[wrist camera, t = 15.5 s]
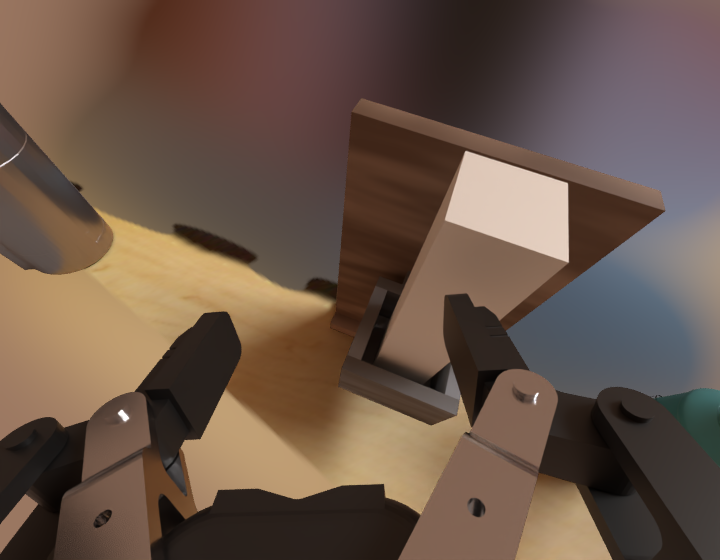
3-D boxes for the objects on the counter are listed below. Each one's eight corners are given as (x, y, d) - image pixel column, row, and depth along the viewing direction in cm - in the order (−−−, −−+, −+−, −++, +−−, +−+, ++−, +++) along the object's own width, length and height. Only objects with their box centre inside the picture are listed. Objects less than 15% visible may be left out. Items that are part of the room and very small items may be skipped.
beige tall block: (417, 389, 25) (568, 262, 9) (370, 370, 25) (444, 220, 10) (428, 345, 27) (568, 183, 12) (385, 328, 27) (465, 151, 12)
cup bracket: (441, 451, 32) (717, 412, 10) (300, 391, 33) (256, 239, 11) (462, 347, 38) (657, 178, 16) (342, 301, 39) (367, 90, 17)
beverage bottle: (608, 443, 34) (897, 418, 17) (591, 502, 31) (927, 544, 14) (552, 403, 35) (763, 344, 18) (531, 455, 32) (763, 440, 15)
